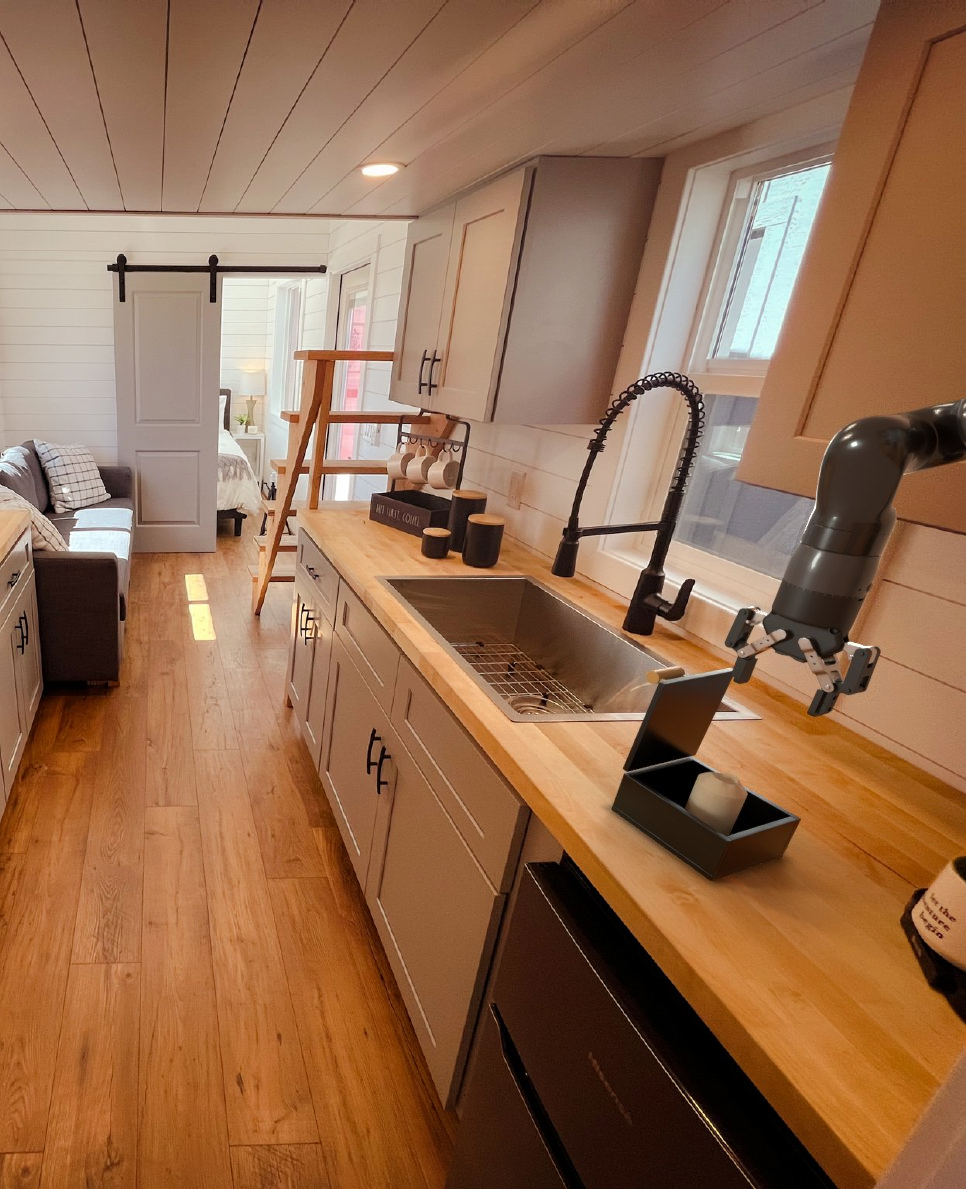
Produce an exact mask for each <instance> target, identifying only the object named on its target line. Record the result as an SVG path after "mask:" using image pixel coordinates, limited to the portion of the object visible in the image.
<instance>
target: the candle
mask: <svg viewBox="0 0 966 1189" xmlns="http://www.w3.org/2000/svg"><path fill="white" fill-rule="evenodd" d="M743 786H744V785H743V784H742V783H741V781H740V780H739V779H738V777H737V776H736V775H734V774H731V773H726V772H720V773H716V772H706V773H702V774H699V775H698V777H697V780H696V782H695V785H694V787H693V790H692V792H691V794H690V797H689V799H688V802H687V804H686V807H685V810H686V811H688V812H689V813H691V814H693V815H694V816H696V817H697V818H699V819H700V820H702V821H703V822H705V823H706V824H708V825H709V826H711V827H713V828H714V829H716V830H717V831H719V832H720V833H722V834H723V835H725V836H729V835H730V833H731V831H732V828H733V826H734V824H735V822H736V819H737V817H738V815H739V813H740V810H741V808H742V806H743V804H744V802H745V799H746V797H747V791H746V789H745V788H744V787H743Z"/></svg>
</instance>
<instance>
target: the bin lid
mask: <svg viewBox="0 0 966 1189" xmlns="http://www.w3.org/2000/svg"><path fill="white" fill-rule="evenodd" d="M732 670H733V667H728V668H723V669H716V670H711V671H707V672H702V673H697V674H690V675H687V674H686V671H685V669H684V668H683V667H682V666H679V665H674V666H669V667H664V668H658V669H652V670H648V671H647V672H646V674H645V678H646V681H647V682H648V683H649V684H651V685H657V686H656V689H655V691H654V694H653V695H652V698H651V699H650V702H649V705H648V707H647V709H646V712H645V714H644V717H643V719H642V721H641V724H640V726H639V729H638V731H637V734H636V736H635V738H634V741H633V742H632V746H631V748H630V750H629V752H628V754H627V757H626V760H625V762H624V764H623V766H622V770H623V771H625V773H628V772H631V771H635V770H640V769H644V768H648V767H652V766H656V765H660V764H664V763H668V762H672V761H676V760H680V759H684V758H689V757H694V756H696V755H697V753H698V751H699V749H700V747H701V744H702V742H703V740H704V738H705V736H706V734H707V732H708V730H709V728H710V726H711V724H712V722H713V719H714V718H715V716H716V713H717V711H718V709H719V707H720V705H721V703H722V701H723V698H724V696H725V695H726V693H727V690H728V688H729V686H730V684H731V682H732V681H733V679H734V677H732Z"/></svg>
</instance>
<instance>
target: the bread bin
mask: <svg viewBox="0 0 966 1189" xmlns="http://www.w3.org/2000/svg"><path fill="white" fill-rule="evenodd" d="M706 772H716V773H721V771H718V770H717V769H715V768H713V767H712V766H710V765H708V764H706V763H704V762H703V761H701V760H699V759H698V758H696V757H694V756H691V757H687V758H682V759H678V760H674V761H670V762H666V763H662V764H658V765H654V766H650V767H646V768H642V769H638V770H634V771H630V772H624V773H623V775H622V778H621V781H620V783H619V786H618V789H617V792H616V795H615V797H614V800H613V803H612V806H611V809H610V810H611V811H613V812H614V813H615V814H617V815H619V816H620V817H621V818H623V820H625V821H627V822H628V823H630V824H631V825H632V826H634V827H635V828H636V829H638V830H639V831H641V832H642V833H643V834H645V835H646V836H648V837H649V838H650V839H652V841H654V842H656V843H657V844H658V845H660V846H661V847H662V848H664V849H666V850H667V851H668V852H670V853H671V854H673V856H675V857H677V858H678V859H679V860H681V861H682V862H684V863H685V864H686V865H688V866H689V867H691V868H692V869H693V870H695V871H696V872H698V873H699V874H700V875H702V876H703V877H704V878H706V879H707V880H709V881H710V882H711V881H716V880H718V879H721V878H723V877H724V878H725V877H726V876H729V875H732V874H736V873H739V872H742V871H744V870H747V869H751V868H753V867H756V866H759V865H762V864H765V863H768V862H772V861H774V860H778V859H781V858H783V857H784V854H785V853H786V850H787V848H788V846H789V844H790V842H791V841H792V838H793V837H794V834H795V833H796V831H797V829H798V827H799V824H800V823H801V820H802V818H801V817H799V816H798V815H796V814H794V813H792V812H791V811H789V810H787V809H785V808H783V807H782V806H780V805H778V804H776V803H774V802H773V801H771V800H769V799H767V798H766V797H764V796H762V795H760V794H759V793H757V792H755V791H754V790H752V789H750V788H748V787H746V786H745V785H743V787H744V788H745V789H746V791H747V797H746V799H745V802H744V804H743V806H742V808H741V810H740V813H739V815H738V817H737V819H736V822H735V824H734V826H733V828H732V831H731V833H730V835H729V836H725V835H723V834H722V833H720V832H719V831H717V830H716V829H714V828H713V827H711V826H709V825H708V824H706V823H705V822H703V821H702V820H700V819H699V818H697V817H696V816H694V815H693V814H691V813H689V812H688V811H686V810H685V807H686V804H687V802H688V799H689V797H690V794H691V792H692V790H693V787H694V785H695V782H696V780H697V777H698V775H699V774H702V773H706Z"/></svg>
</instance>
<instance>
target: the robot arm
mask: <svg viewBox="0 0 966 1189" xmlns="http://www.w3.org/2000/svg"><path fill="white" fill-rule="evenodd" d="M961 462H966V397H965V398H960V399H955V400H952V401H947V402H943V403H939V404H934V405H930V406H926V407H921V408H917V409H912V410H908V411H902V412H898V413H891V414H876V415H870V416H864V417H862V418H858V419H856V420H853V421H852V422H849V423H848V424H846V425H845V426H843V427H842V428H841V429H839V431H838V432H837V433H836V434H835V435H834V436H833V438H832V439H831V441H830V443H829V444H828V446H827V448H826V450H825V452H824V455H823V458H822V461H821V465H820V469H819V473H818V474H819V475H818V479H817V486H816V487H817V488H816V494H815V505H814V509H813V511H812V512H811V514H810V515H809V516H810V517H809V519H808V522H807V525H806V527H805V529H804V532H803V534H802V536H801V539H800V541H799V544H798V545H797V547H796V549H795V550H794V552H793V554H792V555H791V558H790V559H789V562H788V564H787V566H786V570H785V572H784V574H783V577H782V579H781V582H780V585H779V587H778V589H777V591H776V593H775V597H774V600H773V602H772V605H771V610H770V612H769V613H766V612H764V611H762V609H761V607H759V606H757V605H755V606H748V607H742V608H740V609H738V612H737V614H736V616H735V618H734V621H733V623H732V625H731V627H730V629H729V632H728V634H727V636H726V637H725V640H724V646H725V647H726V648H729V649H732V650H733V651H734V652H736V655H737V656H736V660H735V662H734V665H733V667H732V669H733V670H732V677H733V678H732V681H733V683H735V684H738V685H742V684H747V683H748V682H749V681H750V680H751V677H752V675H753V673H754V670H755V668H756V665H757V663H758V660H759V658H758V657H756V656H759V655H761V654H762V653H765V652H767V651H769V650H774V653H775V654H777V655H780V656H785V657H790V658H791V659H793V660H794V661H797V662H799V663H802V664H805V663H807V664H808V666H809V669H810V672H812V674H814V675H815V677H816V679H817V681H818V683H819V686H820V688H817V689H816V691H815V694H814V696H813V698H812V700H811V702H810V705H809V706H808V709H807V712H806V714H807V715H808V716H811V717H813V718H816V717H817V718H818V717H821V716H823V715H827V714H830V713H831V712H832V711H833V709H834V707H835V705H836V703H837V701H838V698H839V697H840V695H841V694H843V695H846V696H852V695H855V694H861V693H864V692H866V691H867V689H868V687H869V684H870V682H871V679H872V677H873V674H874V671H875V669H876V666H877V664H878V661H879V658H880V656H881V653H882V651H881V648H880V647H878V646H877V645H867V646H866V645H863V644H860V643H856V642H851V641H850V638H849V636H850V634H849V633H850V631H851V629H852V628H853V626H854V625H855V622H856V619H858V615H859V613H860V611H861V609H862V607H863V605H864V602H865V600H866V598H867V595H868V593H869V592H870V591H871V589H872V587H873V582H874V581H875V578H876V575H877V571H878V569H879V566H880V565H879V564H880V561H881V557H882V555H883V553H884V550H885V549H886V546H887V543H888V542H889V540H890V538H891V536H892V533H893V531H894V527H895V525H896V522H897V517H898V511H897V508H896V507H895V506H894V505H893V504H894V501H895V498H896V495H897V492H898V490H899V487H900V485H901V481H902V479H903V477H904V475H907V474H913V473H917V472H922V471H926V470H927V471H928V470H932V469H936V468H939V467H944V466H948V465H953V464H957V463H961ZM761 623H762V627H763V629H764V632H765V636H762V637H760V638H758V639H757V640H754V641H752V642H750V643H749V642H748V640H749V638H750V636H751V634H752V632H753V629H754V627H755V626H758V625H760V624H761ZM843 651H844V652H845V653H846V658H847V660H848V661H849V662H850V664H849V666H848V669H847V671H846V674H845V676H843V674H842V672H841V670H842V665H841V662H840V661H839V658H838V656H837V654H838V653H841V652H843Z"/></svg>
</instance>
